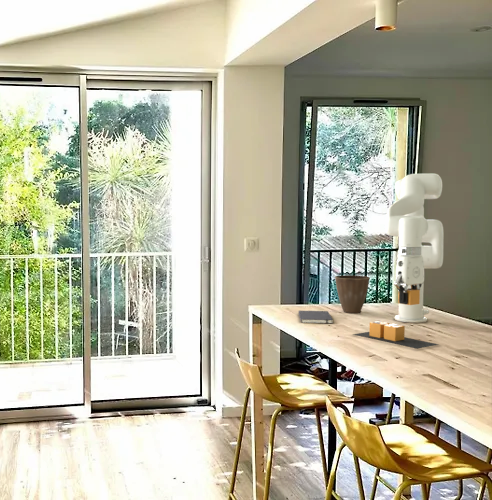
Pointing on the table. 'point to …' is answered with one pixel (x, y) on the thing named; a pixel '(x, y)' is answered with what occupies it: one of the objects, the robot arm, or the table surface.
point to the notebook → (315, 317)
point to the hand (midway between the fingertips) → (408, 302)
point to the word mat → (401, 341)
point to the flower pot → (352, 292)
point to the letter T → (412, 296)
